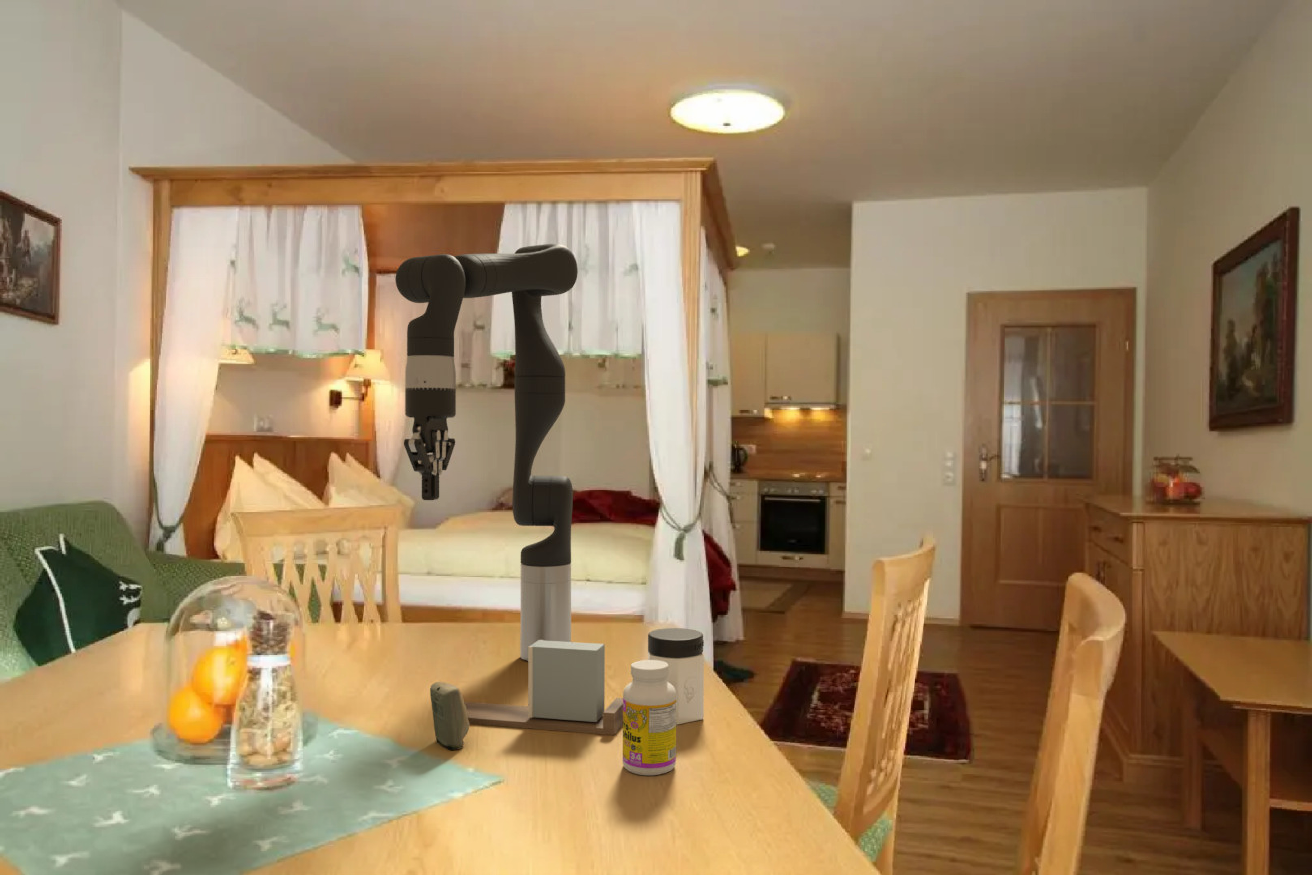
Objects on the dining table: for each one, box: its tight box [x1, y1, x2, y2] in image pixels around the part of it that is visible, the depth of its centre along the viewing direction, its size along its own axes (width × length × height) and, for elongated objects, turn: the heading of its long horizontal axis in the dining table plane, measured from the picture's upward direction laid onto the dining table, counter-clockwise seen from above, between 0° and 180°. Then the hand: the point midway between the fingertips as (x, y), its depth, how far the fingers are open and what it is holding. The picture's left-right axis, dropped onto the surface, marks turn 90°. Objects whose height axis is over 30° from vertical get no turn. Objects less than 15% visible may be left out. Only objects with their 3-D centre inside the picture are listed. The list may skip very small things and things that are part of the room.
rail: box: [464, 697, 623, 736], centre depth 133 cm, size 7×26×3 cm, turn 77°
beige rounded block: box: [429, 681, 470, 751], centre depth 123 cm, size 6×5×8 cm
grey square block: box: [527, 640, 606, 722], centre depth 132 cm, size 4×10×10 cm, turn 77°
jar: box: [647, 627, 705, 726], centre depth 135 cm, size 9×8×12 cm
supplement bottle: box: [622, 659, 677, 776], centre depth 115 cm, size 7×7×13 cm
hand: (430, 499), depth 142 cm, fingers closed
